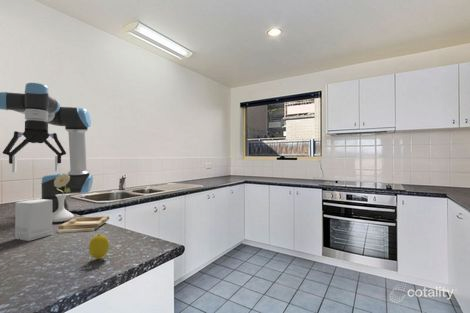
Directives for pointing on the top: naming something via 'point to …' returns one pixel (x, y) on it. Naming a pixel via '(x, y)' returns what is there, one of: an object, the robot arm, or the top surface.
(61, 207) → the flower in vase
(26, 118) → the robot arm
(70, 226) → the tray
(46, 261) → the top surface
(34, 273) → the top surface
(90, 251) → the lemon
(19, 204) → the supplement box
